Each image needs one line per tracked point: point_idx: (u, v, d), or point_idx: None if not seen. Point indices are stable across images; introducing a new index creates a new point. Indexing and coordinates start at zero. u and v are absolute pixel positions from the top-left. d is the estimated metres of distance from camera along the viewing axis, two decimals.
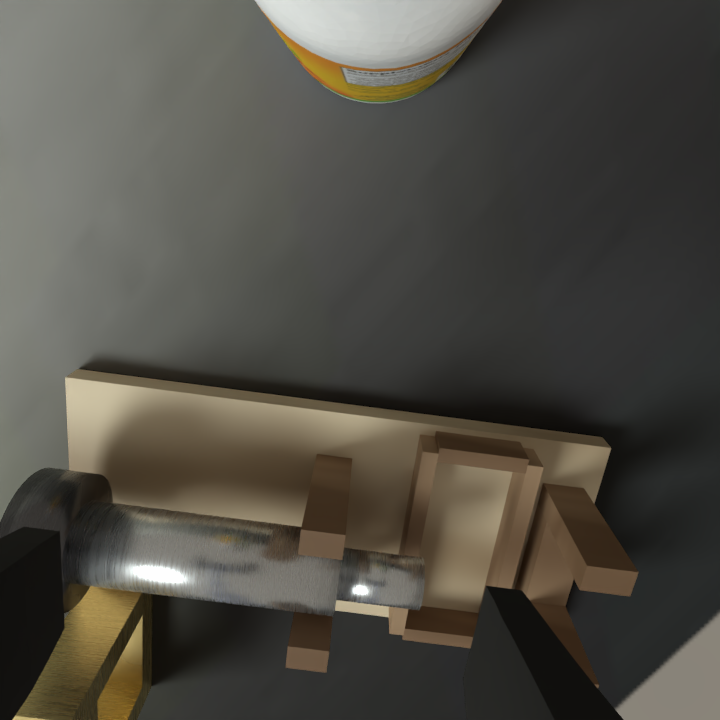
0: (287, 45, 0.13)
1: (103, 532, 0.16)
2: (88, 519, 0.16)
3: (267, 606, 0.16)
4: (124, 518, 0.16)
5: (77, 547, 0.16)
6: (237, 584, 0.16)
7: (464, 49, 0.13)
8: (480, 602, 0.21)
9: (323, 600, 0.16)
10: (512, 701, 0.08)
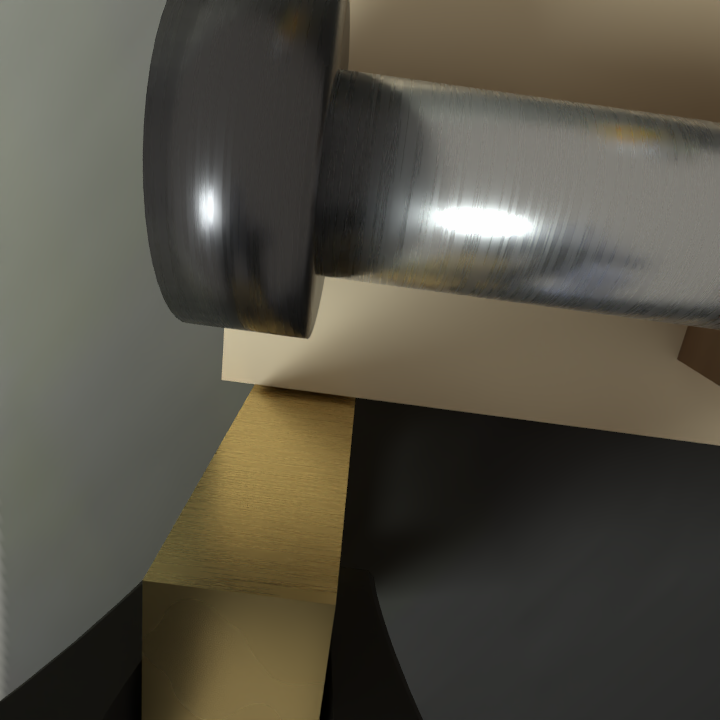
0: None
1: (424, 95, 0.06)
2: (371, 78, 0.06)
3: None
4: (456, 86, 0.06)
5: (361, 122, 0.06)
6: None
7: None
8: None
9: None
10: None
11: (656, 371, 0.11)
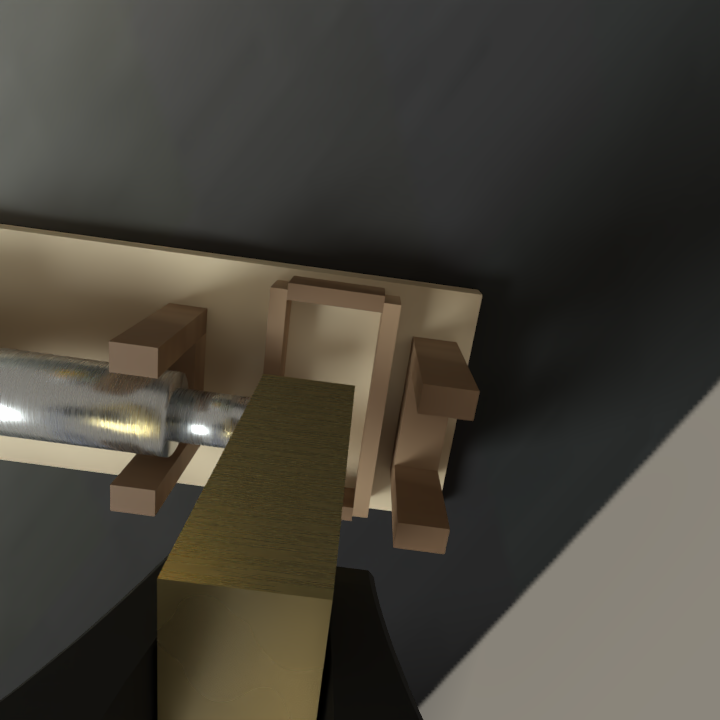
0: None
1: None
2: None
3: (88, 441, 0.15)
4: None
5: None
6: (50, 412, 0.15)
7: None
8: (356, 476, 0.19)
9: (145, 431, 0.15)
10: (324, 677, 0.08)
11: None
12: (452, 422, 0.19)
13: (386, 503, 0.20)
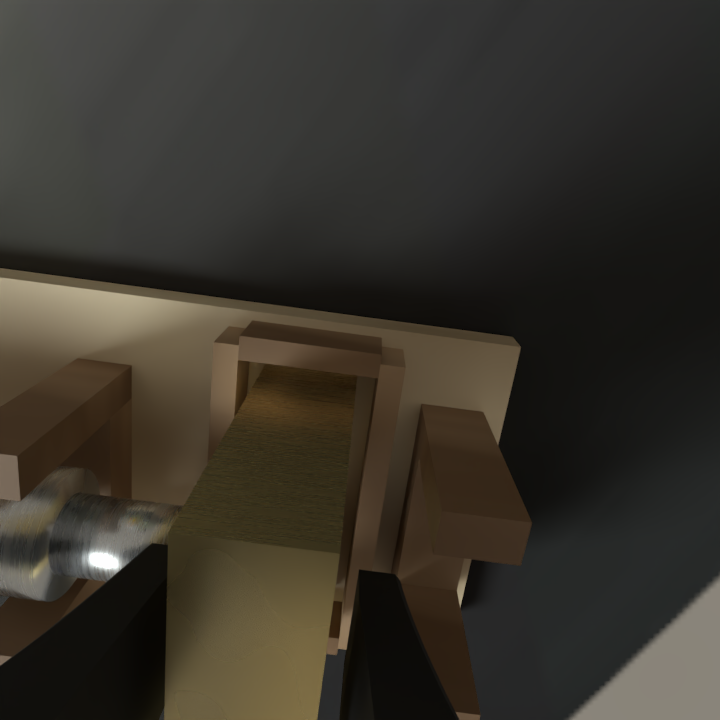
0: None
1: None
2: None
3: None
4: None
5: None
6: None
7: None
8: (344, 586, 0.14)
9: (12, 573, 0.09)
10: (357, 682, 0.08)
11: None
12: None
13: None
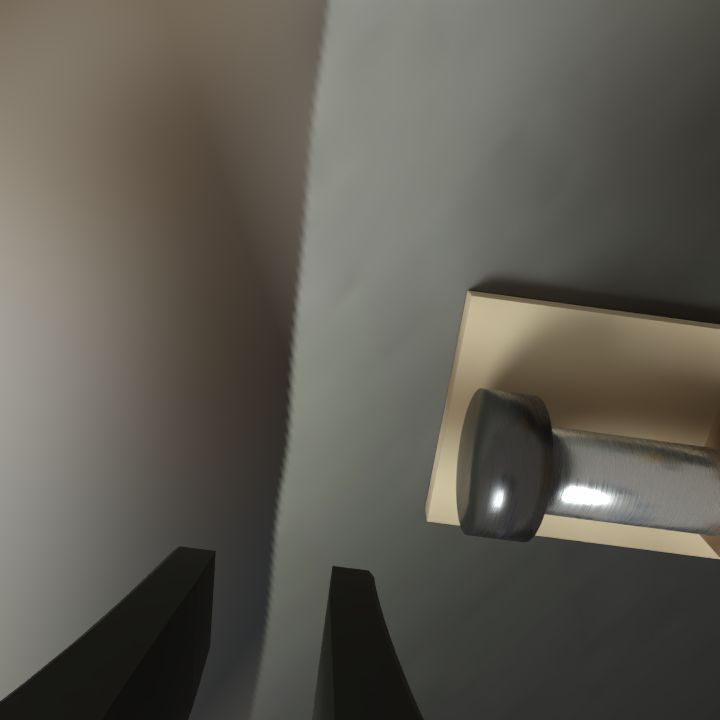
0: None
1: (578, 452, 0.15)
2: (553, 439, 0.15)
3: None
4: (587, 439, 0.15)
5: (555, 467, 0.14)
6: None
7: None
8: None
9: None
10: (325, 677, 0.08)
11: None
12: None
13: None
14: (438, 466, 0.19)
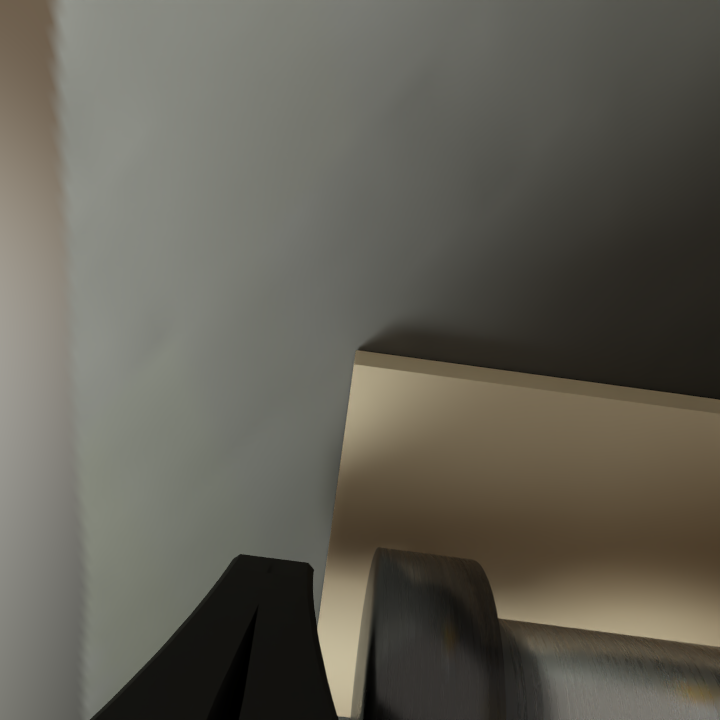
0: None
1: (560, 706, 0.07)
2: (513, 672, 0.07)
3: None
4: (581, 667, 0.08)
5: None
6: None
7: None
8: None
9: None
10: None
11: None
12: None
13: None
14: (318, 633, 0.11)
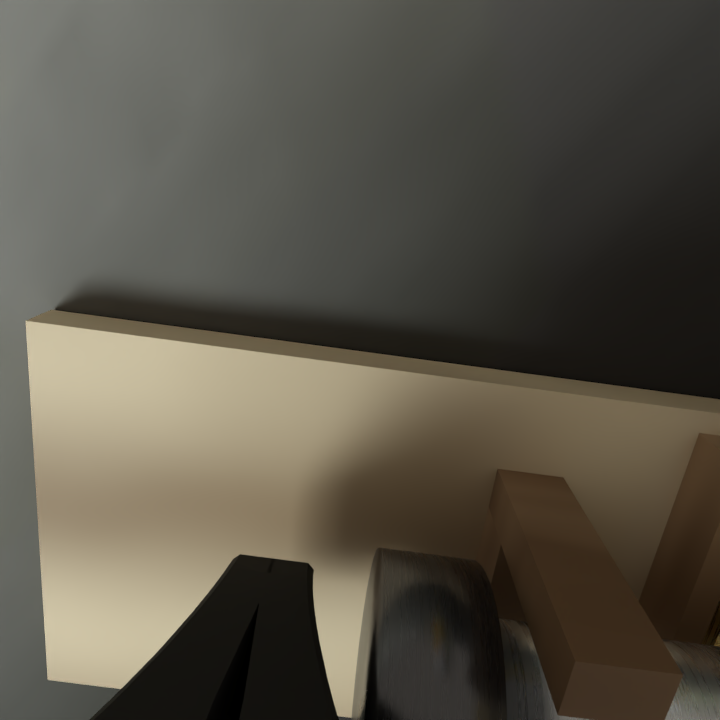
0: None
1: None
2: (513, 672, 0.08)
3: None
4: None
5: None
6: None
7: None
8: None
9: None
10: None
11: None
12: None
13: None
14: (44, 598, 0.11)
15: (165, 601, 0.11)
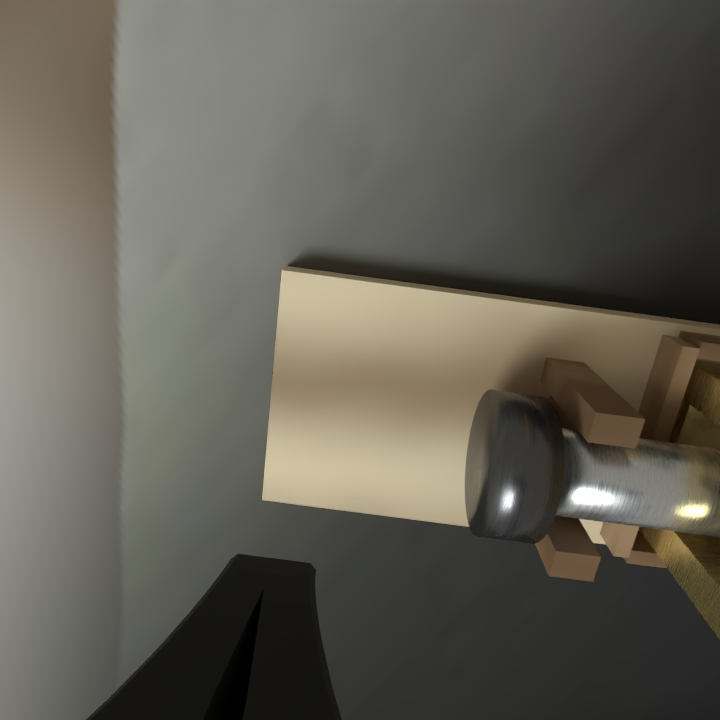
0: None
1: (587, 453, 0.15)
2: (563, 440, 0.15)
3: None
4: None
5: (565, 469, 0.14)
6: None
7: None
8: None
9: None
10: None
11: None
12: None
13: None
14: (267, 444, 0.19)
15: (342, 445, 0.19)
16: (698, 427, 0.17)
